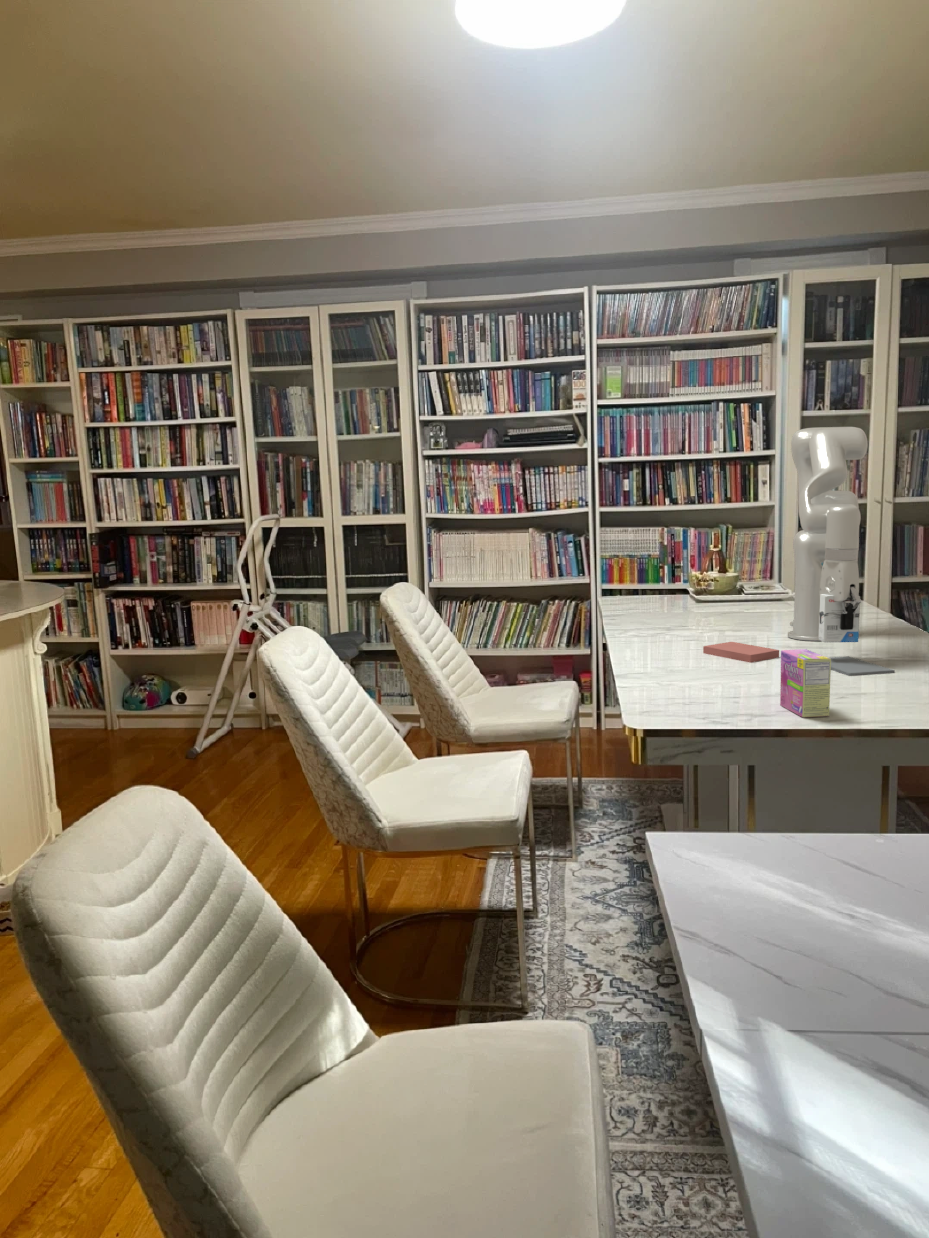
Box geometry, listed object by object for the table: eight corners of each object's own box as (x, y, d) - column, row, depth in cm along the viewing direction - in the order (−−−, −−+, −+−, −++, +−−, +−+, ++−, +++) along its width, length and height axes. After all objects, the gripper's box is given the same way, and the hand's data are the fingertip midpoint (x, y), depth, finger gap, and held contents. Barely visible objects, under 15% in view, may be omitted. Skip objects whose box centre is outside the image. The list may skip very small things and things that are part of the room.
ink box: (852, 639, 228) (854, 593, 227) (858, 642, 224) (861, 595, 222) (817, 639, 229) (819, 593, 228) (823, 642, 224) (825, 595, 223)
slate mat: (806, 661, 230) (806, 658, 230) (848, 658, 232) (848, 656, 232) (849, 675, 213) (849, 673, 213) (894, 672, 215) (894, 670, 215)
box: (778, 705, 187) (780, 649, 185) (805, 704, 187) (807, 648, 186) (801, 718, 177) (803, 659, 175) (829, 717, 177) (832, 658, 175)
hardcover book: (703, 655, 244) (703, 646, 243) (731, 650, 249) (731, 641, 249) (750, 664, 230) (750, 655, 230) (778, 659, 236) (779, 650, 236)
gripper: (807, 553, 231) (805, 623, 234) (849, 558, 214) (845, 633, 217) (834, 552, 232) (831, 622, 235) (877, 557, 216) (873, 632, 218)
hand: (838, 626), depth 226 cm, fingers closed on ink box, 6 cm apart
